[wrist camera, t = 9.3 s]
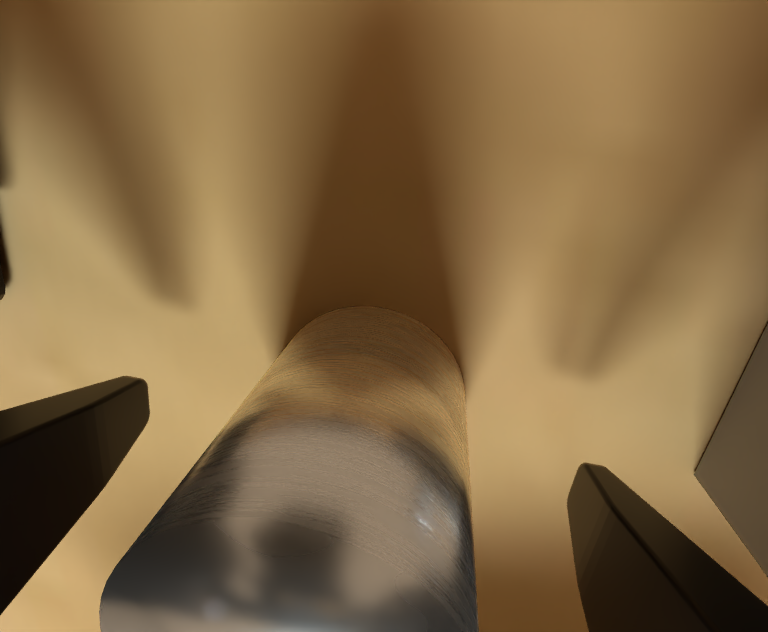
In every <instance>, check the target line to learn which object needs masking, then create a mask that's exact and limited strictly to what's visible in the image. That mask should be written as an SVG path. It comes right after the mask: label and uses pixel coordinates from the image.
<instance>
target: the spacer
mask: <svg viewBox="0 0 768 632" xmlns="http://www.w3.org/2000/svg"><path fill="white" fill-rule="evenodd" d="M99 614H100V628H101V632H479V627H478V610H477V593H476V576H475V559H474V542H473V524H472V507H471V490H470V473H469V456H468V438H467V421H466V404H465V389H464V382H463V377H462V374H461V371H460V368H459V366H458V364H457V361H456V359H455V357H454V356H453V354H452V353H451V351H450V350H449V348H448V347H447V345H446V344H445V343H444V342H443V341H442V340H441V339H440V337H439V336H437V335H436V334H435V333H434V332H433V331H432V330H431V329H429V328H428V327H427V326H425V325H424V324H422V323H421V322H419V321H417V320H415V319H413V318H412V317H410V316H408V315H405V314H403V313H400V312H397V311H394V310H390V309H386V308H382V307H373V306H353V307H346V308H341V309H337V310H334V311H330V312H328V313H326V314H323V315H321V316H319V317H317V318H315V319H314V320H312V321H311V322H309V323H308V324H307V325H305V326H304V327H303V328H302V329H301V330H300V331H299V332H298V333H297V334H296V335H295V336H294V337H293V339H292V340H291V341H290V342H289V344H288V345H287V346H286V348H285V349H284V350H283V351H282V353H281V354H280V355H279V357H278V358H277V359H276V360H275V362H274V363H273V364H272V366H271V367H270V368H269V369H268V371H267V372H266V373H265V375H264V376H263V377H262V378H261V380H260V381H259V382H258V384H257V385H256V386H255V387H254V389H253V390H252V391H251V393H250V394H249V395H248V397H247V398H246V399H245V400H244V402H243V403H242V404H241V406H240V407H239V408H238V409H237V411H236V412H235V413H234V415H233V416H232V417H231V418H230V420H229V421H228V422H227V424H226V425H225V426H224V427H223V429H222V430H221V431H220V433H219V434H218V435H217V436H216V438H215V439H214V440H213V442H212V443H211V444H210V445H209V447H208V448H207V449H206V451H205V452H204V453H203V455H202V456H201V457H200V458H199V460H198V461H197V462H196V464H195V465H194V466H193V467H192V469H191V470H190V471H189V473H188V474H187V475H186V476H185V478H184V479H183V480H182V482H181V483H180V484H179V485H178V487H177V488H176V489H175V491H174V492H173V493H172V494H171V496H170V497H169V498H168V500H167V501H166V502H165V503H164V505H163V506H162V507H161V509H160V510H159V511H158V512H157V514H156V515H155V516H154V518H153V519H152V520H151V522H150V523H149V524H148V525H147V527H146V528H145V529H144V531H143V532H142V533H141V534H140V536H139V537H138V538H137V540H136V541H135V542H134V543H133V545H132V546H131V547H130V549H129V550H128V551H127V552H126V554H125V555H124V556H123V558H122V559H121V560H120V561H119V563H118V564H117V565H116V567H115V568H114V570H113V572H112V573H111V575H110V576H109V578H108V580H107V582H106V584H105V587H104V590H103V593H102V596H101V603H100V611H99Z"/></svg>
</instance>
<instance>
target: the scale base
mask: <svg viewBox="0 0 768 632" xmlns="http://www.w3.org/2000/svg"><path fill="white" fill-rule="evenodd" d="M694 476H695V477H696V478H697V480H698V481H699V482H700V484H701V485H702V487H703V488H704V489H705V491H706V492H707V494H708V495H709V496H710V498H711V499H712V501H713V502H714V503H715V505H716V506H717V507H718V509H719V510H720V512H721V513H722V514H723V516H724V517H725V519H726V520H727V521H728V523H729V524H730V525H731V527H732V528H733V530H734V531H735V532H736V534H737V535H738V537H739V538H740V539H741V541H742V542H743V544H744V545H745V546H746V548H747V549H748V550H749V552H750V553H751V555H752V556H753V557H754V559H755V560H756V562H757V563H758V564H759V566H760V567H761V568H762V570H763V571H764V573H765V574H766V575H767V577H768V324H767V326H766V328H765V330H764V332H763V334H762V336H761V338H760V340H759V342H758V344H757V346H756V349H755V351H754V353H753V355H752V357H751V359H750V361H749V363H748V365H747V367H746V369H745V371H744V373H743V375H742V377H741V379H740V381H739V383H738V385H737V387H736V389H735V391H734V394H733V396H732V398H731V400H730V402H729V404H728V406H727V408H726V410H725V412H724V414H723V416H722V418H721V420H720V422H719V424H718V426H717V428H716V430H715V432H714V434H713V437H712V439H711V441H710V443H709V445H708V447H707V449H706V451H705V453H704V455H703V457H702V459H701V461H700V463H699V465H698V467H697V469H696V471H695V473H694Z"/></svg>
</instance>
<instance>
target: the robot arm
mask: <svg viewBox="0 0 768 632" xmlns="http://www.w3.org/2000/svg"><path fill="white" fill-rule="evenodd" d="M4 295H5V284H4V279H3V274H2V269H1V263H0V300H2V298H3V296H4ZM149 415H150V409H149V396H148V386H147V383H146V381H145V380H144V379H141V378H135V377H130V376H122V377H118V378H115V379H111V380H108V381H104V382H101V383H97V384H94V385H90V386H87V387H83V388H80V389H76V390H73V391H69V392H66V393H62V394H59V395H55V396H52V397H48V398H44V399H41V400H37V401H34V402H30V403H27V404H23V405H20V406H16V407H13V408H9V409H6V410H2V411H0V615H1V614H2V613H3V611H4V610H5V609H6V608H7V607H8V605H9V604H10V603H11V602H12V600H13V599H14V598H15V597H16V596H17V594H18V593H19V592H20V591H21V589H22V588H23V587H24V586H25V584H26V583H27V582H28V581H29V580H30V578H31V577H32V576H33V575H34V573H35V572H36V571H37V570H38V569H39V567H40V566H41V565H42V564H43V562H44V561H45V560H46V559H47V558H48V556H49V555H50V554H51V553H52V551H53V550H54V549H55V548H56V546H57V545H58V544H59V543H60V542H61V540H62V539H63V538H64V537H65V535H66V534H67V533H68V532H69V531H70V529H71V528H72V527H73V526H74V524H75V523H76V522H77V521H78V520H79V518H80V517H81V516H82V515H83V513H84V512H85V511H86V510H87V508H88V507H89V506H90V505H91V504H92V502H93V501H94V500H95V499H96V497H97V496H98V495H99V494H100V492H101V491H102V490H103V488H104V487H105V486H106V484H107V483H108V482H109V480H110V479H111V477H112V476H113V474H114V473H115V471H116V470H117V468H118V467H119V465H120V464H121V462H122V461H123V459H124V458H125V456H126V455H127V453H128V452H129V450H130V449H131V447H132V446H133V444H134V443H135V441H136V440H137V438H138V437H139V435H140V434H141V432H142V431H143V429H144V428H145V426H146V424H147V422H148V420H149ZM567 509H568V517H569V524H570V532H571V539H572V547H573V554H574V562H575V569H576V576H577V582H578V588H579V592H580V597H581V601H582V605H583V609H584V614H585V618H586V622H587V626H588V630H589V632H768V606H767V605H766V604H765V603H763V602H762V601H761V600H760V599H759V598H758V597H756V596H755V595H754V594H753V593H752V592H751V591H749V590H748V589H747V588H746V587H745V586H744V585H742V584H741V583H740V582H739V581H738V580H737V579H735V578H734V577H733V576H732V575H731V574H730V573H728V572H727V571H726V570H725V569H724V568H723V567H721V566H720V565H719V564H718V563H717V562H716V561H714V560H713V559H712V558H711V557H710V556H709V555H707V554H706V553H705V552H704V551H703V550H702V549H700V548H699V547H698V546H697V545H696V544H695V543H693V542H692V541H691V540H690V539H689V538H688V537H686V536H685V535H684V534H683V533H682V532H681V531H679V530H678V529H677V528H676V527H675V526H674V525H672V524H671V523H670V522H669V521H668V520H667V519H665V518H664V517H663V516H662V515H661V514H660V513H658V512H657V511H656V510H655V509H654V508H653V507H651V506H650V505H649V504H648V503H647V502H646V501H644V500H643V499H642V498H641V497H640V496H639V495H637V494H636V493H635V492H634V491H633V490H632V489H630V488H629V487H628V486H627V485H626V484H625V483H623V482H622V481H621V480H620V479H619V478H618V477H616V476H615V475H614V474H613V473H612V472H611V471H609V470H608V469H607V468H606V467H604V466H601V465H595V464H590V463H583V464H581V465H580V466H579V468H578V470H577V473H576V476H575V478H574V481H573V484H572V486H571V489H570V492H569V495H568V500H567Z"/></svg>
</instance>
